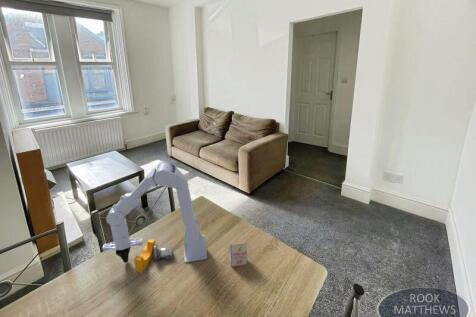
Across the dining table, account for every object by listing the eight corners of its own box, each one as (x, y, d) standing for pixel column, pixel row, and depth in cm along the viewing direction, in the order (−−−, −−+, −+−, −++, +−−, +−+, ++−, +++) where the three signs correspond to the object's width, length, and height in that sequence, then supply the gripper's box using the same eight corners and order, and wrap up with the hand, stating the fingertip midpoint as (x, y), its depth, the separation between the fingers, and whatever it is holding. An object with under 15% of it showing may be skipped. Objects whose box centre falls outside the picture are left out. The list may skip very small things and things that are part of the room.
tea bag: (229, 260, 102) (229, 241, 98) (245, 258, 103) (245, 239, 99) (231, 266, 98) (230, 247, 95) (247, 264, 99) (247, 245, 96)
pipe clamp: (147, 250, 107) (145, 238, 105) (156, 251, 106) (155, 239, 104) (132, 271, 96) (129, 258, 94) (142, 272, 95) (139, 260, 93)
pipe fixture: (172, 250, 107) (171, 239, 105) (172, 260, 101) (170, 248, 99) (155, 252, 105) (154, 241, 103) (155, 263, 100) (153, 251, 98)
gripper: (141, 225, 100) (145, 251, 105) (103, 230, 97) (109, 257, 101) (139, 236, 94) (143, 263, 98) (98, 242, 90) (105, 269, 95)
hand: (126, 260), depth 100 cm, fingers closed
